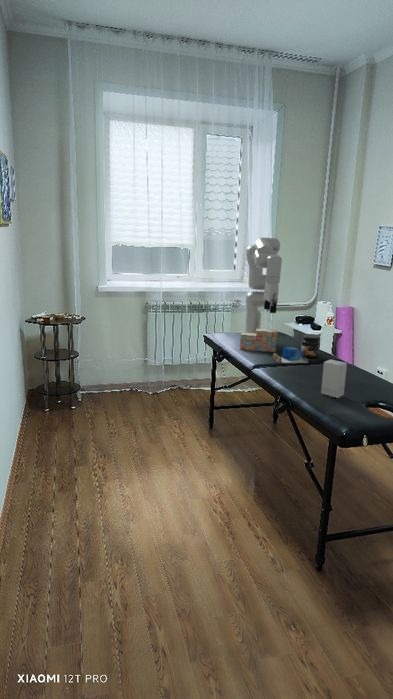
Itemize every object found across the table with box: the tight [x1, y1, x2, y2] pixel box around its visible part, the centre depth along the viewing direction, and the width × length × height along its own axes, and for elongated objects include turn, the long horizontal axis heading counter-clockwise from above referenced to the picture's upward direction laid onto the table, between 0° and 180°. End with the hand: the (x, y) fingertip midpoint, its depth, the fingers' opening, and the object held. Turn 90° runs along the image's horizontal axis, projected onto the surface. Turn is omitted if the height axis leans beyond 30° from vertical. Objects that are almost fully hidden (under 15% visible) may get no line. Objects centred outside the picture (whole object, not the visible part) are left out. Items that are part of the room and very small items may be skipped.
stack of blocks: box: [239, 328, 278, 353], centre depth 274 cm, size 21×6×12 cm, turn 85°
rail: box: [272, 352, 282, 364], centre depth 253 cm, size 10×1×3 cm, turn 10°
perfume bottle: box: [281, 346, 306, 361], centre depth 256 cm, size 6×6×12 cm
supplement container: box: [300, 333, 321, 359], centre depth 264 cm, size 10×10×12 cm
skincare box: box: [320, 359, 348, 399], centre depth 201 cm, size 8×7×16 cm
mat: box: [280, 356, 309, 364], centre depth 254 cm, size 9×16×2 cm, turn 100°
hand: (269, 311), depth 249 cm, fingers open, 9 cm apart
